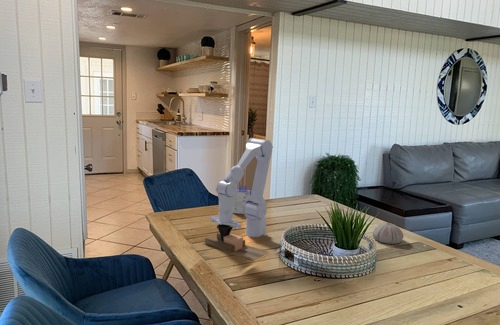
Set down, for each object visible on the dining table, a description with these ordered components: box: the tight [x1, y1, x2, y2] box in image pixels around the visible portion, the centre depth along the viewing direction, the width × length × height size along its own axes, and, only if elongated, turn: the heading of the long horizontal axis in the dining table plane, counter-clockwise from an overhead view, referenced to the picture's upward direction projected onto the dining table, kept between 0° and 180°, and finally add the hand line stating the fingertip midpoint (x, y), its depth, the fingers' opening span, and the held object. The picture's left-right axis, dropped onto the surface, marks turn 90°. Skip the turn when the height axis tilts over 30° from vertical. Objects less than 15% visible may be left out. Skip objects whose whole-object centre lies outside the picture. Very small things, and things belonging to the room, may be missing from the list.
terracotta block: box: [224, 233, 244, 251], centre depth 159 cm, size 5×6×4 cm
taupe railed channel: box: [202, 231, 269, 264], centre depth 159 cm, size 14×26×4 cm, turn 55°
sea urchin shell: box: [372, 222, 404, 245], centre depth 176 cm, size 13×14×8 cm
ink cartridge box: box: [233, 185, 252, 215], centre depth 208 cm, size 10×6×14 cm, turn 78°
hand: (224, 241), depth 161 cm, fingers closed
